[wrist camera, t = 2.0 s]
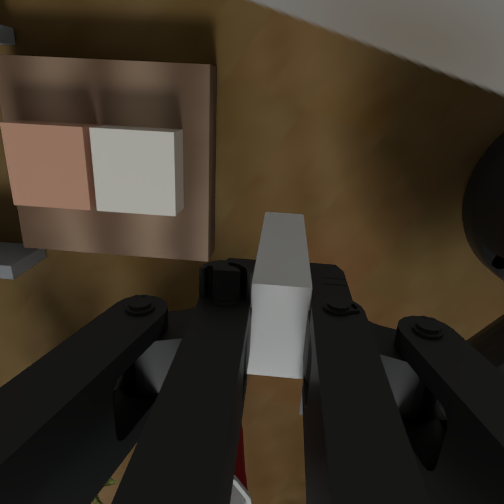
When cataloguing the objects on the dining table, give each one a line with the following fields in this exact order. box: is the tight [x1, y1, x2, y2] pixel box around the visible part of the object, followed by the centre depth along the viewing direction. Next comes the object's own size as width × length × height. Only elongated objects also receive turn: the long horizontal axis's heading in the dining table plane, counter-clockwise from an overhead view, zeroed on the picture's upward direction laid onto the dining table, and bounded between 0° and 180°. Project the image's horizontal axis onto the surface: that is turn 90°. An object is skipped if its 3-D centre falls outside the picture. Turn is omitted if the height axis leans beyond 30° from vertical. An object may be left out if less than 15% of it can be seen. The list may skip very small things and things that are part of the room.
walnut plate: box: [0, 55, 217, 262], centre depth 33 cm, size 16×15×3 cm
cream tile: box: [89, 125, 184, 216], centre depth 31 cm, size 6×6×2 cm
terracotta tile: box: [0, 120, 98, 210], centre depth 31 cm, size 6×6×2 cm
